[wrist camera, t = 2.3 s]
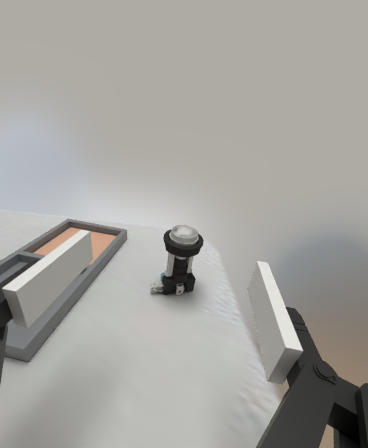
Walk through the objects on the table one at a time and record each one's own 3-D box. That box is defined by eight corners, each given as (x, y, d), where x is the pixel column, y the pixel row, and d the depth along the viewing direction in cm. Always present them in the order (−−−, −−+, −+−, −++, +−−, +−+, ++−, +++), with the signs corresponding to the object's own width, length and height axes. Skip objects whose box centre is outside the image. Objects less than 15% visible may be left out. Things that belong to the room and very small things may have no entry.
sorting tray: (-87, 333, 20) (-97, 320, 19) (69, 227, 42) (68, 218, 41) (28, 361, 19) (24, 349, 19) (127, 238, 41) (127, 229, 40)
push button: (155, 307, 27) (161, 245, 23) (146, 280, 31) (150, 223, 27) (198, 297, 30) (212, 240, 25) (185, 273, 34) (194, 221, 29)
